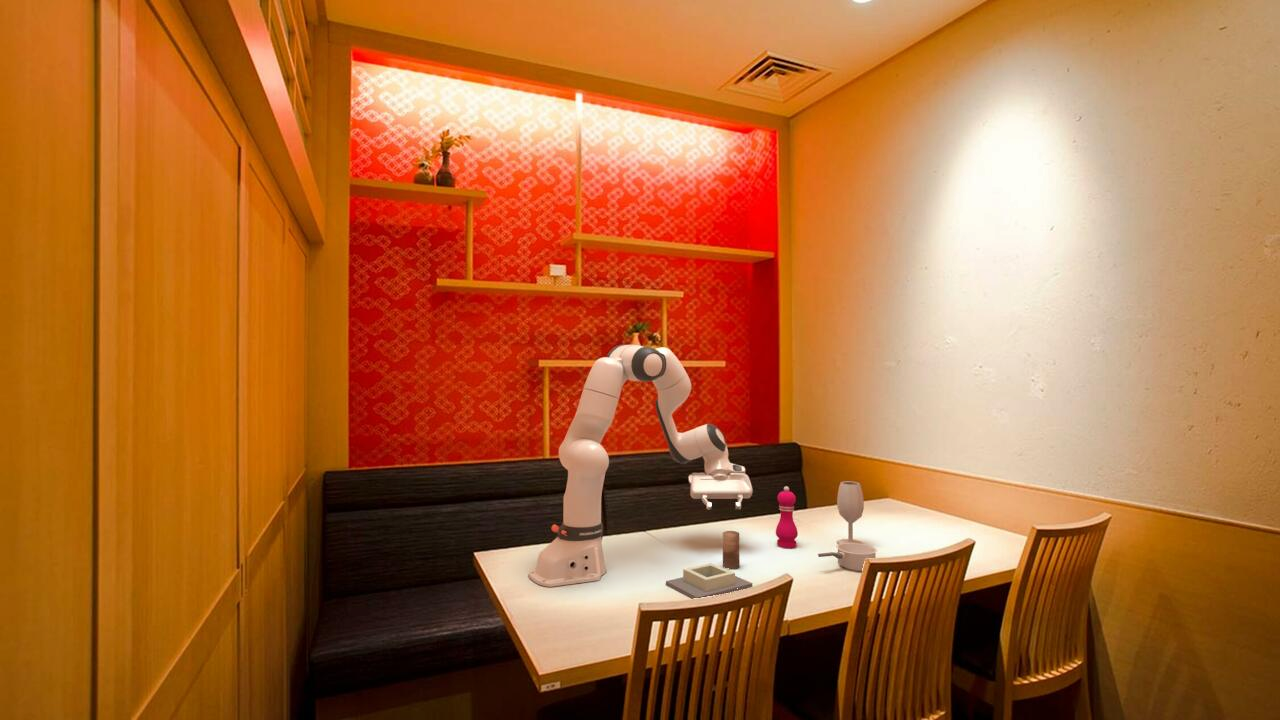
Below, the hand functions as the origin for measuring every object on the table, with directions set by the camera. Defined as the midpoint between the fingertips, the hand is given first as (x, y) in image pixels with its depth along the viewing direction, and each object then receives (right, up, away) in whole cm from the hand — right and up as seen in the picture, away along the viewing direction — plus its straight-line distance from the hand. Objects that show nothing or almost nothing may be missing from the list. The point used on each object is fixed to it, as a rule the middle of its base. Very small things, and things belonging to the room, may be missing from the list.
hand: (723, 508), depth 190 cm
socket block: (-8, -14, -28) cm, 32 cm away
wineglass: (+44, -15, +11) cm, 48 cm away
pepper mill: (+23, -15, +10) cm, 29 cm away
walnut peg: (+1, -15, -11) cm, 18 cm away
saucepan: (+35, -15, -13) cm, 40 cm away
